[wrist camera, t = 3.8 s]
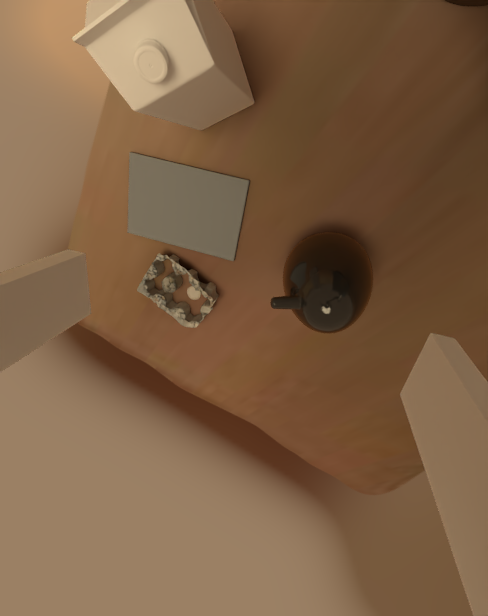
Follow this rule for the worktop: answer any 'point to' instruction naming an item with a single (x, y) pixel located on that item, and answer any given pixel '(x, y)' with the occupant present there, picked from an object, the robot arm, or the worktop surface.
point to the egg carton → (173, 283)
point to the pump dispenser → (326, 282)
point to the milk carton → (168, 58)
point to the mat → (185, 205)
